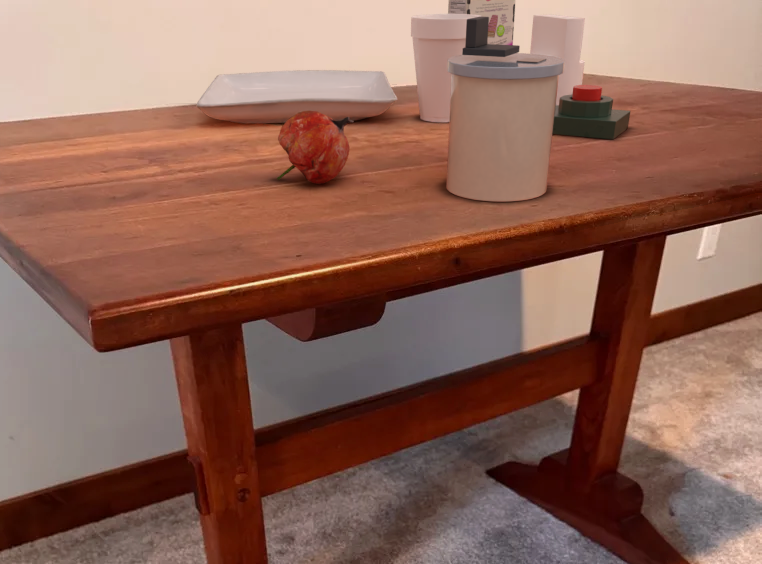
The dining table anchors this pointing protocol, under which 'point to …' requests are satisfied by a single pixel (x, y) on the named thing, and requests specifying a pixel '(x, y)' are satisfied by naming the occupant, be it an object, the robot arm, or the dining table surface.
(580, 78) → the white tapered box
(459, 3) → the candy bar box
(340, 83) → the square plate
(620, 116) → the box
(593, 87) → the button
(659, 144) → the dining table surface
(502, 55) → the slider
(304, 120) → the pomegranate
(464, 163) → the travel mug
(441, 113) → the foam cup
